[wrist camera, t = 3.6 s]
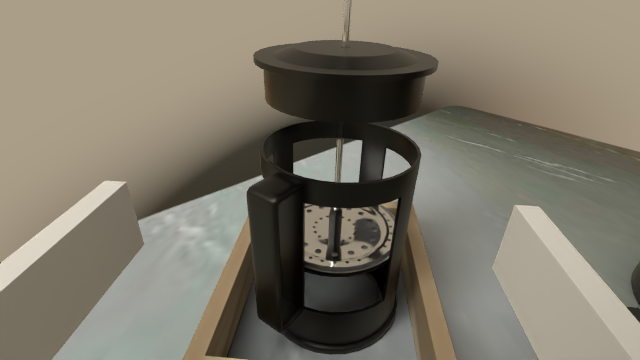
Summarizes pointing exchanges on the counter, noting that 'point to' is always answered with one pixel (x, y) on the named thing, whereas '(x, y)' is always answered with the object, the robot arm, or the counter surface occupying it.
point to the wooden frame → (236, 279)
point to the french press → (334, 184)
